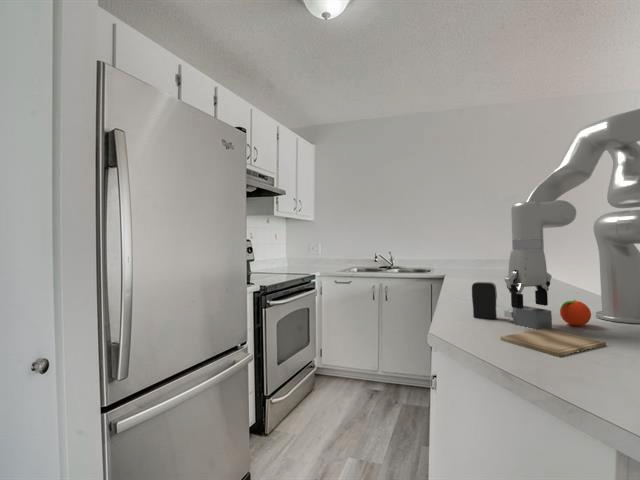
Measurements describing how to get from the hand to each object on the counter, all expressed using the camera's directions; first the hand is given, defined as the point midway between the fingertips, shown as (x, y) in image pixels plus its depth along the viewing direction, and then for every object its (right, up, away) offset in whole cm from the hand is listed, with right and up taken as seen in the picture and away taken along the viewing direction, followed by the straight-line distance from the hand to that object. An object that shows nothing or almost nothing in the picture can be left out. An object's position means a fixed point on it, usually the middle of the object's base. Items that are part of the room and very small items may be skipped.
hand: (529, 306), depth 93 cm
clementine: (+12, -5, -1) cm, 13 cm away
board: (-4, -6, -15) cm, 16 cm away
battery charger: (-6, -6, +12) cm, 15 cm away
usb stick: (0, -6, +1) cm, 6 cm away
